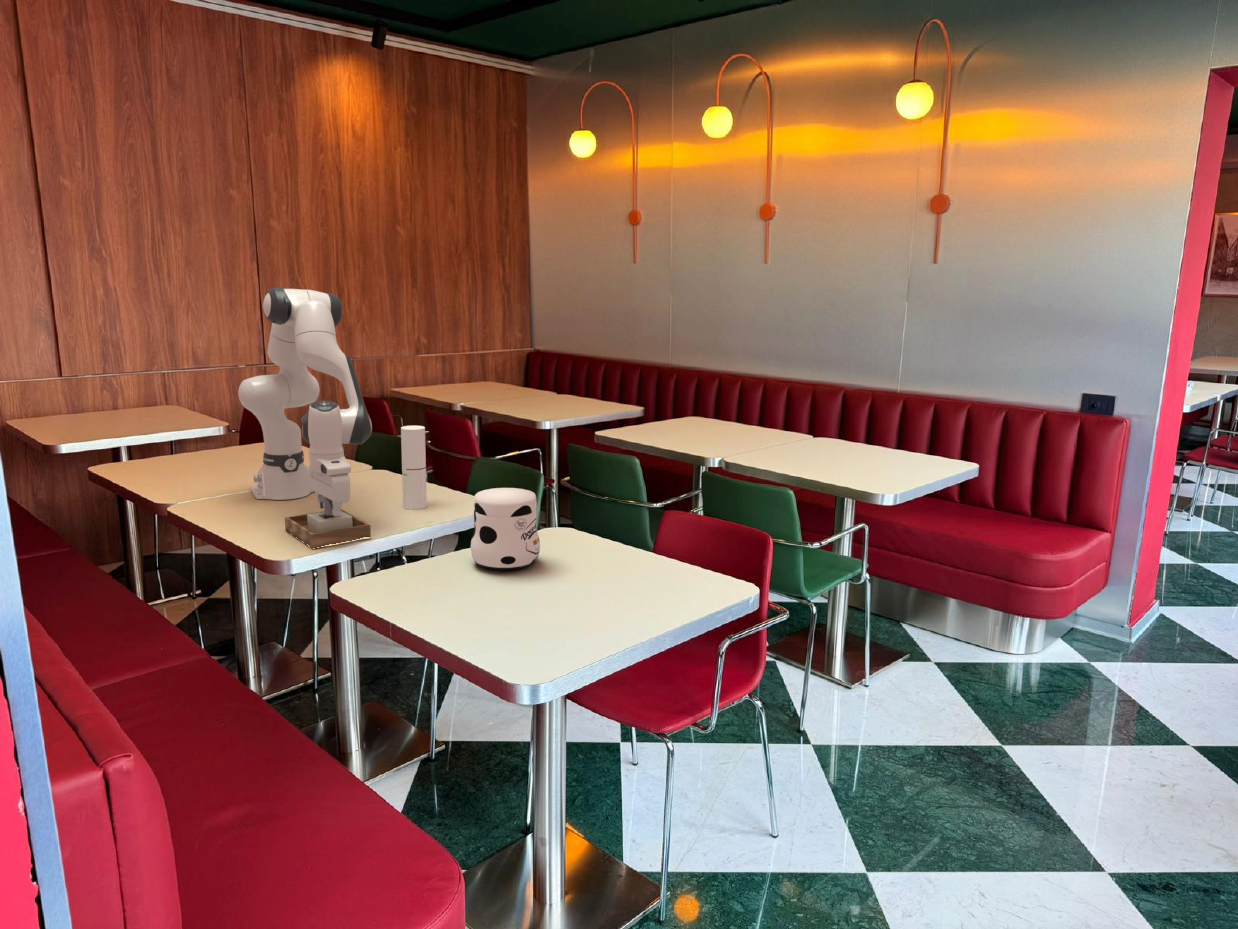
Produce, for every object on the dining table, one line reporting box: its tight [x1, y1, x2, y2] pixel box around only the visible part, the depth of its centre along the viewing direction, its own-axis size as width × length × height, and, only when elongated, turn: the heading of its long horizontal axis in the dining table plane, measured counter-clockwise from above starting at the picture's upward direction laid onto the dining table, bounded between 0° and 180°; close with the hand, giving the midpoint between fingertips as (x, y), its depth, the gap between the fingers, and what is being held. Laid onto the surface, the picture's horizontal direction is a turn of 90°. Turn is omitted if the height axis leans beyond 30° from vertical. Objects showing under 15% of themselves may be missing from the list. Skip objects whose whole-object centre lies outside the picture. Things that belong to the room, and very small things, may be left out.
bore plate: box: [306, 510, 353, 534], centre depth 236 cm, size 9×9×5 cm
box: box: [284, 508, 372, 549], centre depth 238 cm, size 20×16×4 cm
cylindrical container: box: [400, 425, 428, 511], centre depth 267 cm, size 7×7×25 cm
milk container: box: [470, 487, 541, 571], centre depth 217 cm, size 17×17×18 cm
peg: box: [323, 497, 337, 519], centre depth 236 cm, size 3×3×11 cm
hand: (329, 511), depth 236 cm, fingers open, 8 cm apart
